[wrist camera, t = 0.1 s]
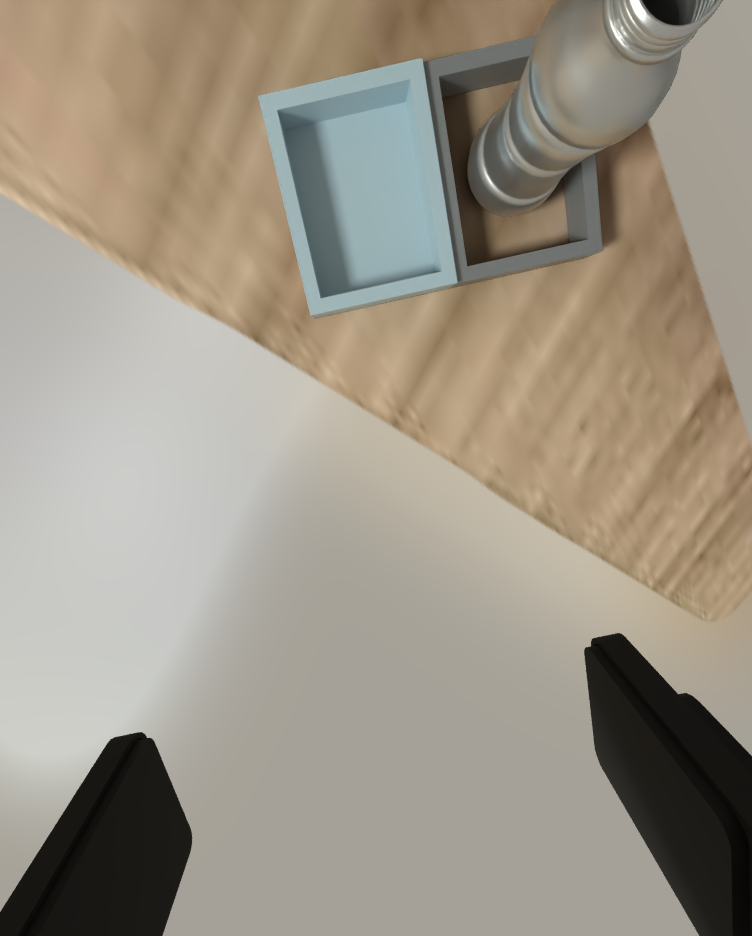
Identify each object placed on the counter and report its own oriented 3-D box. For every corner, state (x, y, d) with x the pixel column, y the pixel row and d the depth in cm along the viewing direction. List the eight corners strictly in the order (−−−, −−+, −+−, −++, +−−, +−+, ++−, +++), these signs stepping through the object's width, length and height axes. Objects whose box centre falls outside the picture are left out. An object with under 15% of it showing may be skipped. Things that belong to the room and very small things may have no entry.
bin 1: (268, 121, 34) (258, 96, 30) (415, 87, 33) (422, 58, 30) (314, 318, 37) (310, 315, 34) (448, 288, 37) (457, 282, 34)
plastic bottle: (510, 105, 34) (714, -218, 15) (563, 184, 35) (811, -15, 16) (443, 169, 35) (549, -55, 15) (496, 243, 36) (655, 124, 17)
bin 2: (415, 87, 33) (421, 62, 30) (564, 52, 33) (584, 24, 30) (448, 288, 37) (456, 283, 34) (583, 258, 37) (602, 250, 34)
